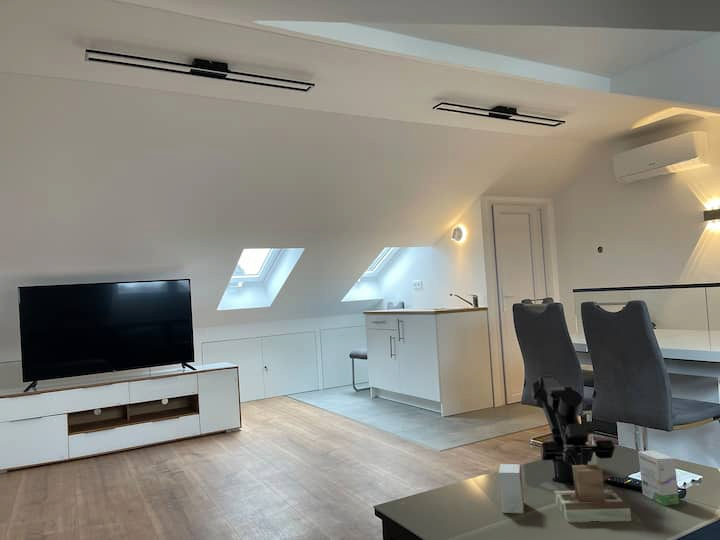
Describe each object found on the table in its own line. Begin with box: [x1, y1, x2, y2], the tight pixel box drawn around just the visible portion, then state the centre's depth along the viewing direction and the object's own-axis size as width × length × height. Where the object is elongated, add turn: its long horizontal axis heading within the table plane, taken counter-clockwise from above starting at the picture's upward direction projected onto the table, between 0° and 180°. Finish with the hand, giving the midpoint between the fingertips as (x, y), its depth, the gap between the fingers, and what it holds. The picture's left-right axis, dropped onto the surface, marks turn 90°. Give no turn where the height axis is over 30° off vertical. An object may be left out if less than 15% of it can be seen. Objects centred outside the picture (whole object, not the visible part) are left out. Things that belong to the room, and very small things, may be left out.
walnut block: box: [572, 464, 605, 503], centre depth 135 cm, size 5×6×8 cm
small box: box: [497, 463, 525, 514], centre depth 141 cm, size 8×6×10 cm
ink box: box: [638, 450, 680, 507], centre depth 139 cm, size 8×5×12 cm, turn 6°
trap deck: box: [553, 489, 632, 523], centre depth 135 cm, size 13×15×4 cm
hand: (585, 479), depth 138 cm, fingers closed
